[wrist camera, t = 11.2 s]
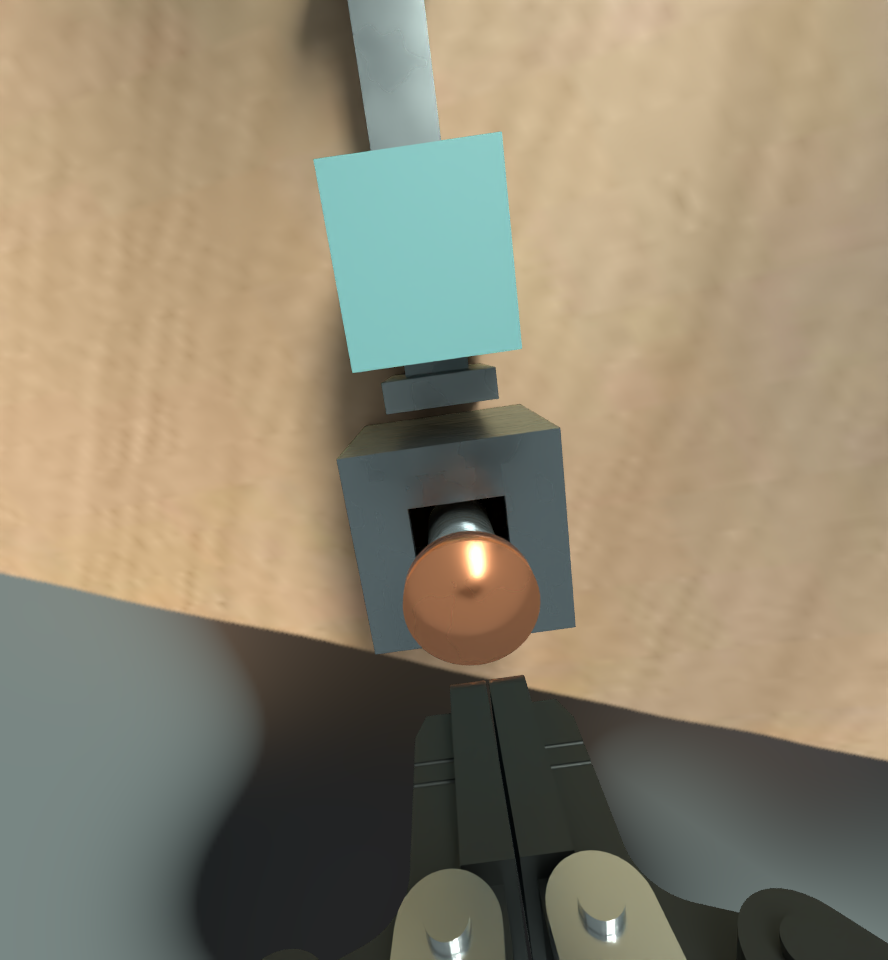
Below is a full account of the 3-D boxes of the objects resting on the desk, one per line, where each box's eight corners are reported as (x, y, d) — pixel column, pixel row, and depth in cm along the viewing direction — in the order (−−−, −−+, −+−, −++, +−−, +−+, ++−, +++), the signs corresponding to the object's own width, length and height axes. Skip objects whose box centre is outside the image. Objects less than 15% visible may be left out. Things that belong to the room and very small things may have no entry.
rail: (322, -61, 20) (278, -229, 14) (429, -77, 20) (428, -252, 14) (396, 399, 25) (386, 414, 19) (482, 387, 25) (498, 398, 19)
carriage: (354, 225, 21) (313, 159, 14) (477, 207, 21) (501, 131, 14) (377, 366, 23) (352, 372, 15) (492, 349, 23) (521, 348, 15)
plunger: (404, 486, 20) (392, 551, 14) (500, 472, 20) (533, 531, 14) (419, 574, 21) (414, 673, 15) (510, 561, 21) (545, 655, 15)
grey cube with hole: (365, 426, 25) (336, 459, 17) (520, 404, 25) (560, 427, 17) (391, 568, 27) (375, 654, 19) (534, 548, 27) (575, 626, 19)
